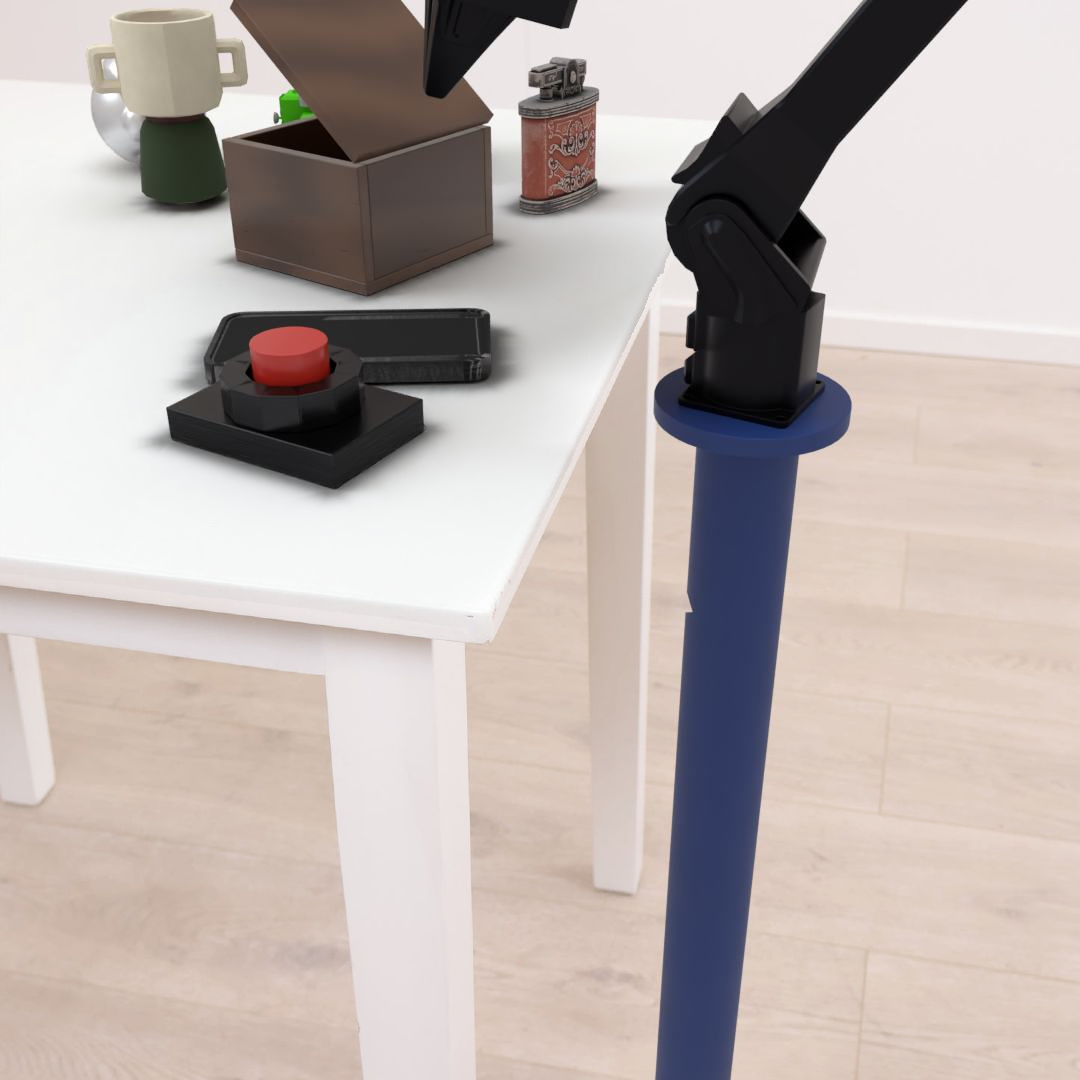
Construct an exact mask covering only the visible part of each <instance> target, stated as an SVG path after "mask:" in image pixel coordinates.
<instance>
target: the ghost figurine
mask: <svg viewBox="0 0 1080 1080" xmlns="http://www.w3.org/2000/svg"><path fill="white" fill-rule="evenodd" d="M102 68H103V74H104V78H105V79H118V75H117V68H116V62H115V58H110V59H103V62H102ZM90 112H91V118H92V121H93V124H94V127H95V129H96V131H97V133H98V135H99V137H100V138H101V140H102V142H103V143H104V144H105V145H106V146H107V147H108V148H109V150H111V151H112V152H113V153H114V154H115V155H117V156H118V157H120V158H121V159H124V161H127V162H129V163H131V164H134V165H137V166H140V129H141V126H142V123H143V121H144V120H145V119H146V117H145V116H142V115H139V114H135V113H132V112H129V110H128V109H127V107H126V105H125V104H124V102H123V100H122V99H121V94H120V93H111V94H100V93H96V92H94V90H93V88H92V90H91V95H90ZM205 116H207V112H205Z"/></svg>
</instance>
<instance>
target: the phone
mask: <svg viewBox="0 0 1080 1080" xmlns="http://www.w3.org/2000/svg"><path fill="white" fill-rule="evenodd" d="M281 327H307V328H313V329H317V330H319V331H321V332H323V333H324V334H325V335H326V336H327V338H328V344H330V345H334V346H338V347H342V348H347V349H349V350H351V351H352V352H353V353H354V354H355V355H356V356H357V357H359V358H360V359H361V360H362V361H363V372H364V384H368V383H369V384H373V383H419V382H420V383H423V382H424V383H425V382H428V383H429V382H432V383H433V382H471V381H473V382H474V381H478V380H483V379H485V378H487V377H488V376H490V375H491V373H492V343H491V342H492V338H491V337H492V336H491V314H490V312H489V311H488V310H486V309H482V308H477V307H443V308H441V307H440V308H388V309H387V308H386V309H385V308H381V309H379V308H378V309H325V310H322V309H321V310H320V309H319V310H315V309H313V310H260V311H259V310H254V311H253V310H251V311H248V310H247V311H237V312H232V313H229V314H226V315H224V316H223V317H222V318H221V319H220V322H219V324H218V325H217V328H216V330H215V332H214V334H213V337H212V339H211V341H210V343H209V345H208V347H207V349H206V351H205V353H204V356H203V365H204V373H205V380H206V381H207V382H208V383H210V384H211V385H212V384H214V383H216V382H218V381H219V374H220V372H221V370H222V368H223V367H224V365H225V363H226V361H228V360H230V359H232V358H234V357H236V356H238V355H240V354H242V353H244V352H246V351H248V350H250V347H249V343H250V340H251V339H252V338H253V337H254V336H256V335H257V334H259V333H262V332H264V331H267V330H271V329H275V328H281Z"/></svg>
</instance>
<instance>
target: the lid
mask: <svg viewBox="0 0 1080 1080" xmlns="http://www.w3.org/2000/svg"><path fill="white" fill-rule="evenodd" d="M229 10H230V11H231V12H232V13H233V15H234V16H235V17H236V18H237V19H238V21H239V22H240V23H241V24H242V26H243V27H244V28H245V30H246V31H247V32H248V33H249V34H250V36H251V37H252V38H253V40H254V41H255V42H256V43H257V45H258V46H259V47H260V48H261V50H262V51H263V52H264V53H265V55H266V56H267V57H268V58H269V60H270V61H271V63H273V64H274V66H275V67H276V69H277V70H278V71H279V72H280V73H281V74H282V76H283V77H284V78H285V80H286V81H287V82H288V84H289V85H290V86H291V87H292V88H293V89H295V91H296V92H297V93H298V94H299V96H300V97H301V98H302V99H303V101H304V102H305V103H306V104H307V106H308V107H309V108H310V110H311V111H312V112H313V113H314V115H315V116H316V117H317V118H318V120H319V121H320V122H321V123H322V125H323V126H324V127H325V128H326V130H327V131H328V132H329V133H330V135H331V136H332V137H333V138H334V140H335V141H336V142H337V143H338V145H339V146H340V147H341V148H342V150H343V151H344V152H345V153H346V155H347V156H348V157H349V158H350V160H351V161H352V162H353V163H354V164H356V163H359V162H363V161H366V160H369V159H372V158H376V157H379V156H382V155H385V154H389V153H392V152H395V151H399V150H402V149H405V148H408V147H412V146H415V145H418V144H421V143H425V142H428V141H431V140H434V139H438V138H441V137H444V136H447V135H451V134H454V133H457V132H461V131H464V130H467V129H470V128H474V127H477V126H480V125H487V124H489V122H490V121H491V120H492V119H493V117H494V113H493V111H491V109H490V108H489V107H488V105H487V104H486V103H485V102H484V100H483V99H482V98H481V97H480V95H479V94H478V93H477V91H475V89H474V88H473V86H472V85H470V83H469V82H468V80H467V79H466V78H465V76H463V77H462V79H461V80H460V81H459V82H458V83H457V84H456V85H455V87H454V88H453V89H452V90H451V91H450V92H449V94H448V95H447V96H446V97H445V98H443V99H438V98H434V97H429V96H427V95H426V94H425V91H424V89H423V59H424V26H423V25H422V23H420V21H418V19H417V18H416V17H415V15H414V14H413V13H412V12H411V10H410V8H408V7H407V5H406V4H405V3H404V2H403V1H402V0H232V2H231V3H230V6H229Z"/></svg>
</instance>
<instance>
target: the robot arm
mask: <svg viewBox="0 0 1080 1080" xmlns="http://www.w3.org/2000/svg"><path fill="white" fill-rule="evenodd" d="M578 1H579V0H424V26H423V28H424V59H423V89H424V91H425V94H426V95H427V96H429V97H434V98H438V99H443V98H445V97H446V96H447V95H448V94H449V92H450V91H451V90H452V89H453V88H454V87H455V85H456V84H457V83H458V82H459V81H460V80H461V79H462V77H465V75H466V74H467V73H468V72H469V71H470V69H471V68H472V67H473V66H474V65H475V63H477V61H478V60H479V59H480V58H481V57H482V56H483V54H484V53H485V52H486V51H487V50H488V49H489V48H490V46H492V44H493V43H494V42H495V41H496V40H497V38H498V37H500V36H501V34H502V33H503V32H504V31H505V30H507V28H508V27H509V26H510V25H511V24H512V23H513V22H514V21H515V20H516V19H517V18H518V19H522V20H523V21H524V20H525V21H528V22H533V23H536V24H539V25H543V26H548V27H550V28H555V29H558V30H565V29H569V28H570V26H571V23H572V20H573V17H574V13H575V10H576V7H577V4H578ZM968 1H969V0H862V1H861V2H859V4H858V5H857V6H856V7H855V9H854V10H853V11H852V12H851V14H849V15H848V17H847V19H845V21H844V22H843V23H842V24H841V25H840V26H839V28H837V30H836V31H835V32H834V34H833V35H832V36H831V37H830V38H829V40H828V41H827V42H826V43H825V44H824V45H823V47H822V48H821V49H820V50H819V51H818V52H817V54H816V55H815V56H814V57H813V59H812V60H811V61H810V62H809V63H808V64H807V65H806V67H805V68H804V69H803V70H802V71H801V72H800V74H799V75H798V76H797V77H796V79H795V80H794V81H793V82H792V83H791V84H790V85H789V86H788V87H786V88H785V89H784V90H782V92H780V93H779V94H777V96H775V97H773V98H772V99H771V100H770V101H768V102H767V103H765V104H764V105H763V106H762V107H761V108H759V109H757V107H756V106H755V105H754V104H753V102H752V101H751V100H750V98H749V97H748V96H747V94H745V92H739V93H738V95H737V96H736V97H735V99H734V100H733V101H732V103H731V104H730V106H728V108H727V109H726V111H725V112H724V114H723V115H722V116H721V117H720V119H719V122H718V123H717V125H716V126H715V128H714V130H713V131H712V133H711V135H710V136H709V137H708V138H706V139H704V140H703V141H701V142H699V143H697V144H695V145H694V147H693V148H692V149H691V150H690V152H689V153H688V155H687V156H686V157H685V159H684V160H683V161H682V163H681V164H680V165H679V167H678V168H677V169H676V171H675V172H673V175H672V176H671V177H670V180H671V183H674V184H676V185H680V187H679V188H678V189H677V191H676V192H675V194H674V195H673V196H672V197H673V198H672V199H671V200H670V202H669V204H668V206H667V210H666V214H665V216H664V220H665V221H664V222H665V230H666V231H665V232H666V240H667V242H668V244H669V248H670V249H671V251H672V254H673V256H674V257H675V258H676V260H677V261H679V263H680V264H681V265H682V266H683V268H684V269H686V270H687V271H689V272H691V273H692V274H693V278H694V281H695V285H696V287H697V291H696V298H695V299H696V300H695V310H694V311H692V312H691V313H689V314H688V315H687V316H686V327H685V328H686V329H685V330H686V331H685V344H684V346H685V348H687V349H691V350H692V351H693V352H692V354H691V355H689V356H688V357H687V358H685V359H684V364H683V365H684V366H683V367H684V381H685V383H686V384H689V385H690V386H689V387H688V388H687V389H686V390H684V391H683V392H682V393H681V394H680V395H679V396H678V404H679V405H680V406H683V407H687V408H691V409H695V410H700V411H704V412H708V413H713V414H717V415H721V416H725V417H730V418H734V419H738V420H743V421H747V422H751V423H756V424H760V425H764V426H768V427H773V428H777V429H785V428H788V427H789V426H790V425H791V424H792V423H793V422H794V421H795V420H796V419H797V418H798V417H799V416H800V415H801V414H802V413H803V412H804V411H805V410H806V409H807V408H808V407H809V406H810V405H811V404H812V403H813V402H814V401H815V400H816V399H817V398H818V397H819V396H820V395H821V394H822V393H823V392H824V390H825V385H826V382H825V381H823V380H821V379H816V377H817V372H818V366H819V357H820V350H821V340H822V332H823V322H824V314H825V312H824V311H825V307H826V306H825V304H826V296H827V295H826V294H825V293H823V292H818V291H814V290H812V289H813V287H814V284H815V280H816V277H817V274H818V271H819V267H820V264H821V261H822V259H823V256H824V253H825V248H826V245H827V237H826V236H825V235H824V234H823V233H822V231H821V230H820V229H819V228H818V227H817V226H816V225H815V223H814V222H813V221H812V220H811V219H810V218H809V216H808V215H807V214H806V213H805V212H804V211H803V210H802V208H801V207H802V205H803V203H804V202H805V201H806V199H807V197H808V195H809V194H810V192H811V190H812V189H813V187H814V185H815V184H816V182H817V180H818V178H819V177H820V175H821V174H822V172H823V170H824V169H825V167H826V165H827V164H828V163H829V161H830V159H831V157H832V156H833V153H834V152H835V151H836V149H837V147H838V146H839V145H840V144H841V142H843V141H844V139H845V138H846V137H847V136H848V135H849V133H851V131H852V130H853V129H854V128H855V127H856V126H857V125H858V124H859V123H860V121H861V120H862V119H863V118H864V117H865V116H866V114H868V112H869V111H870V110H871V109H872V108H873V107H874V106H875V105H876V104H877V102H879V100H880V99H881V98H882V97H883V96H884V95H885V94H886V92H887V91H889V89H890V88H892V85H893V84H895V82H896V81H897V80H898V79H899V78H900V77H901V75H903V73H904V72H905V71H906V70H907V69H908V68H909V67H910V66H911V64H912V63H913V62H914V61H915V60H916V59H917V58H918V57H919V55H921V53H922V52H923V51H924V50H925V49H926V48H927V47H928V46H929V44H930V43H931V42H933V40H934V39H935V38H936V37H937V36H938V34H940V33H941V31H942V30H943V29H944V28H945V27H946V26H947V24H949V22H950V21H951V20H952V19H953V18H954V17H955V15H957V13H958V12H959V11H960V10H961V9H962V8H963V7H964V6H965V4H966V3H967V2H968Z"/></svg>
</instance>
